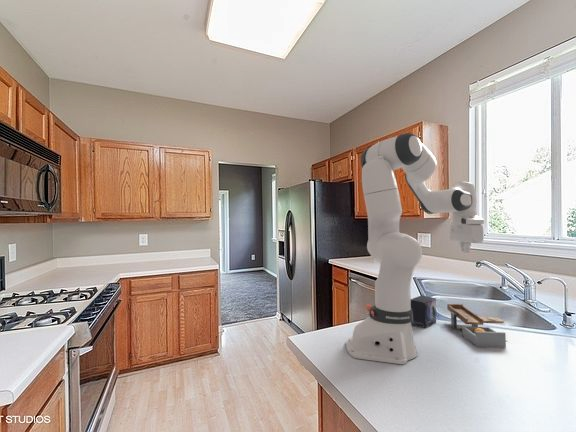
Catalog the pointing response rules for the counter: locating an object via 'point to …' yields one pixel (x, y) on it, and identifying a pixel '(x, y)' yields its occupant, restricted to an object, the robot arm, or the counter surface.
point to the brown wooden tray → (471, 315)
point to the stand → (454, 323)
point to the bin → (484, 337)
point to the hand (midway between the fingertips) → (465, 252)
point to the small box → (423, 311)
